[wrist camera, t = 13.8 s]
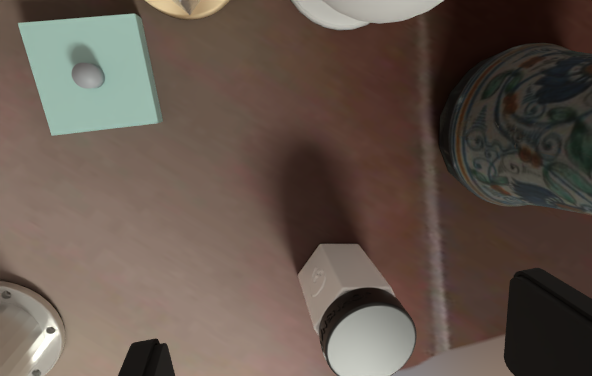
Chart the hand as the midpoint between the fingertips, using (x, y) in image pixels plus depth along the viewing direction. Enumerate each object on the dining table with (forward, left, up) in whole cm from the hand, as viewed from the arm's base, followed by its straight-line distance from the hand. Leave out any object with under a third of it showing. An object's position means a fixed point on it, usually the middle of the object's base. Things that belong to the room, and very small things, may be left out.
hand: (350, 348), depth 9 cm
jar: (+6, -15, -28) cm, 33 cm away
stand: (-14, +9, -28) cm, 33 cm away
